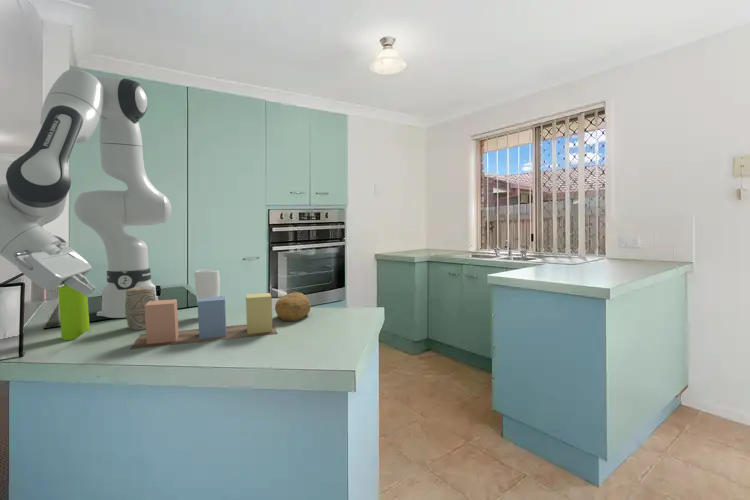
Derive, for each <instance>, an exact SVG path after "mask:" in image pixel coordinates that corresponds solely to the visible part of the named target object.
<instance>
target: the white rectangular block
mask: <svg viewBox="0 0 750 500" xmlns="http://www.w3.org/2000/svg"><path fill="white" fill-rule="evenodd" d="M220 279H221V276H220V270H219V269H217V268H215V269H211V268H207V269H206V268H205V269H197V270H195V271H194V287H195V288H194V289H195V296H196V303H197V304H196V305H198V299H199V298H203V297H218V296H220V288H221V287H220V285H221V280H220Z"/></svg>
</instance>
